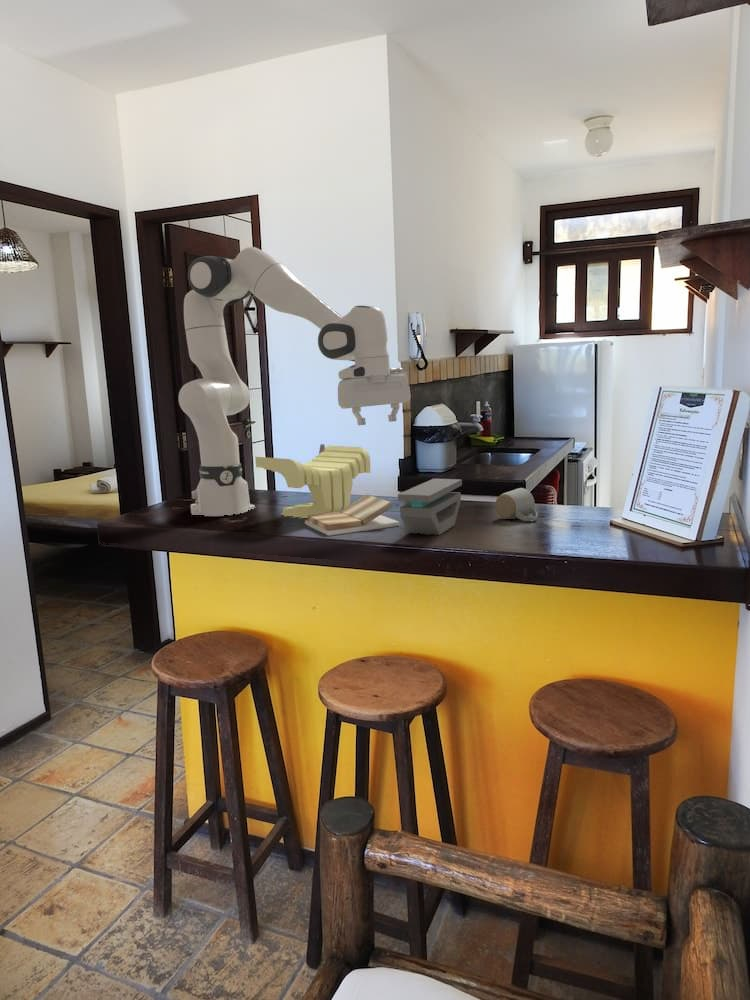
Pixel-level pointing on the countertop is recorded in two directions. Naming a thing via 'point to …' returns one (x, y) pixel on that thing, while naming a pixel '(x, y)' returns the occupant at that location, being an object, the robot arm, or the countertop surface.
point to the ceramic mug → (516, 505)
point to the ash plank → (367, 508)
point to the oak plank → (334, 521)
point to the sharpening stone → (431, 506)
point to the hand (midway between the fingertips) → (377, 423)
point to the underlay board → (374, 524)
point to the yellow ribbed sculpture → (321, 478)
